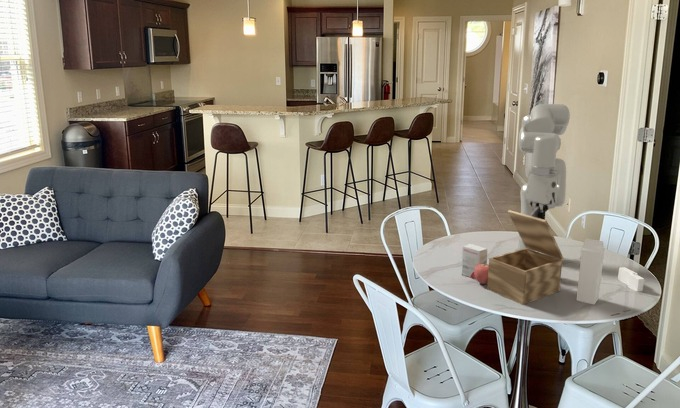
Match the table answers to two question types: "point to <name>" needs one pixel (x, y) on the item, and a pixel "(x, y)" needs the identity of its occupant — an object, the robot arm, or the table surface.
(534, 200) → the robot arm
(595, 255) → the milk
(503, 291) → the wooden box
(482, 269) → the apple
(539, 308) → the table surface
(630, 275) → the white stepped block
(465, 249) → the ink box
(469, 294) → the table surface
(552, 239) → the lid
